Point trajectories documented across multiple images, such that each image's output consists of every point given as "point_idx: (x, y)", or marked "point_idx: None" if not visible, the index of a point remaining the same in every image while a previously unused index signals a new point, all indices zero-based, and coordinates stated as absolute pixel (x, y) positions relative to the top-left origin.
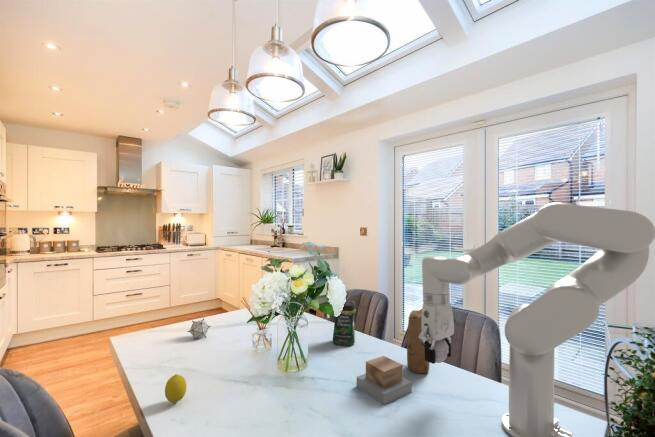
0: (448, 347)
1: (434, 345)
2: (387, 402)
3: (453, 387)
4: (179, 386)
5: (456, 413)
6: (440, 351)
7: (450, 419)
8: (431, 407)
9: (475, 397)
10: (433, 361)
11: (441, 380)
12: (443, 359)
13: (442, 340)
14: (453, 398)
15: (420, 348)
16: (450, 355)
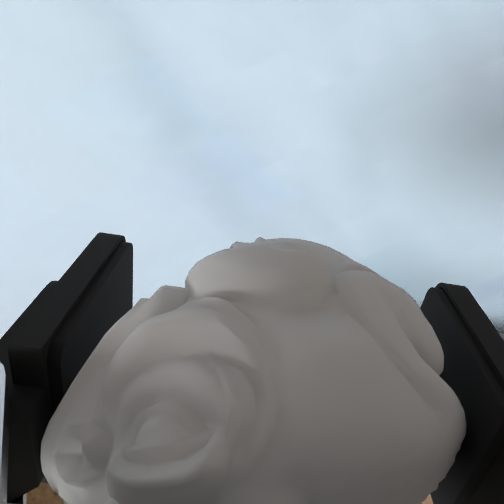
0: (147, 308)
1: (410, 482)
2: (501, 334)
3: (75, 166)
4: None
5: (346, 16)
6: (404, 335)
7: (439, 15)
8: (387, 160)
9: (62, 5)
10: (467, 305)
11: (66, 249)
12: (319, 245)
13: (227, 492)
14: (194, 109)
15: (46, 484)
16: (107, 237)
